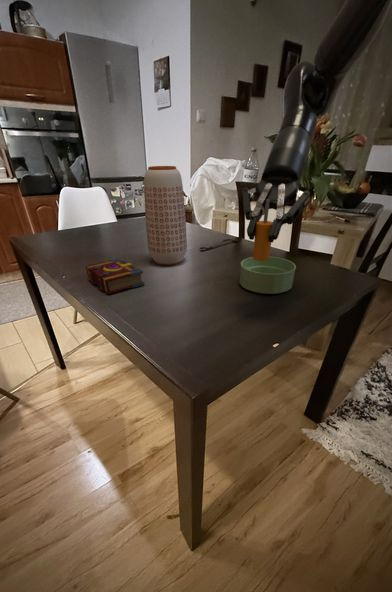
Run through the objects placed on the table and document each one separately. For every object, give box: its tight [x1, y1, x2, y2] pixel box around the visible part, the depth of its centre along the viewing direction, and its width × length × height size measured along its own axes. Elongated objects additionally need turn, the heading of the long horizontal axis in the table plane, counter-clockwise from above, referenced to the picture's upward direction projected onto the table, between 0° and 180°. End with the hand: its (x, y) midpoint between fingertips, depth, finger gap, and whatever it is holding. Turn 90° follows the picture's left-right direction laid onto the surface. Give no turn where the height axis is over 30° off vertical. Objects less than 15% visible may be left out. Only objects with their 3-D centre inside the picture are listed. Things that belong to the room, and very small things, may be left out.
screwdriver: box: [252, 200, 273, 261], centre depth 56 cm, size 3×3×11 cm
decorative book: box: [85, 257, 145, 295], centre depth 83 cm, size 11×16×5 cm
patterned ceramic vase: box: [143, 165, 188, 267], centre depth 91 cm, size 13×13×28 cm
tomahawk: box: [199, 238, 239, 250], centre depth 115 cm, size 21×7×1 cm, turn 132°
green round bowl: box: [238, 255, 297, 295], centre depth 80 cm, size 15×15×6 cm
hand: (260, 238), depth 55 cm, fingers closed on screwdriver, 3 cm apart
